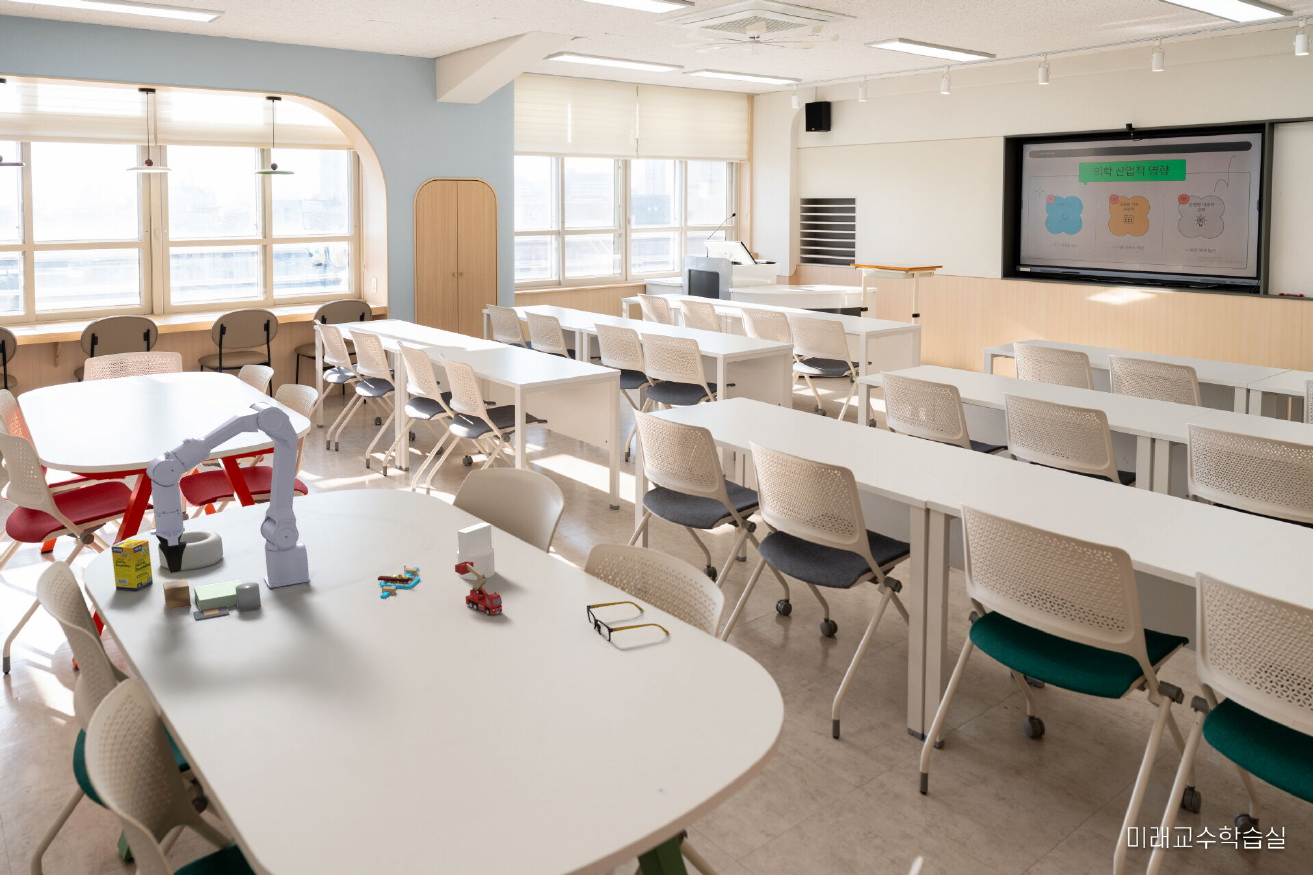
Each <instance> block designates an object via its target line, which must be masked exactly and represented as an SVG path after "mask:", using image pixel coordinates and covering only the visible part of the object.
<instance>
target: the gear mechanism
mask: <svg viewBox="0 0 1313 875" xmlns="http://www.w3.org/2000/svg"><path fill="white" fill-rule="evenodd" d="M403 569H404V570H403V572H404V575H403V574H398V575H397V574H394V575H379V576H378V577H377V581H380V582H381V583H380V584H379V585H380V588H381V595H379V597H380V599H386V598H387V597H388V596H390V595H395V594H396V592H397V591H396V590H397V589H403V590H404V589H405V590H410V589H412V588H413V587H414V586H416V585H417V584H418V583H419V582H420V581H421V577H420V576H417V575H418V574H419V573H418V572H419V570H420V568H419V567H418V566H417V567H416V566H414V567H413V568H410V567H409V568H407V565H406V564H403ZM409 581H410V582H409Z"/></svg>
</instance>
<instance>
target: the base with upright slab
mask: <svg viewBox="0 0 1313 875" xmlns="http://www.w3.org/2000/svg"><path fill="white" fill-rule="evenodd" d="M457 542H458V549H457V552H456V556H457V558H456V559H457V564H460V563H463V562H467V561H469V562H473V563H474V567H473V568H475V569H476V570H477V571H479V572H480V573H481V574H484V575H485V577H486V579H488V578H491V577H493V576H494V575H495V572H496V570H495V549H494V548H493V546H492V544H493V543H492V542H493V541H492V524H491V523H488V522H483V521H482V522H480V523H479V522H478V523H476V524H474V525H471V526H468V527H464V528H461V529H459V530H457ZM457 576H458V577H459V578H460V579H463V580H470V581H471V580H472V581H476V579H477V576H476V575H474V574H473V573H472V572H470V573H467V574H464V575H461V574H459V573H457Z"/></svg>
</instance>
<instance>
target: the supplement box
mask: <svg viewBox="0 0 1313 875" xmlns="http://www.w3.org/2000/svg"><path fill="white" fill-rule="evenodd" d="M149 544H150V543H149V540H146V539H144V540H143V539H133V538H132V539H129V538H127V539H126V540H124V541H122V542H119V543H117V544H115V545H114V544H113V545H111V547H110V548H111V556H112V563H113V564H112V565H113V574H114V581H115V589H116V590H118V591H120V590H121V591H132V592H135V591H136V592H138V591H140V590H141V589H143V588H145V587H147V586H149V585H151V584H154V582H153V581H154V580H153V571H152V562H151V553H150V552H151V551H150V545H149Z"/></svg>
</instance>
